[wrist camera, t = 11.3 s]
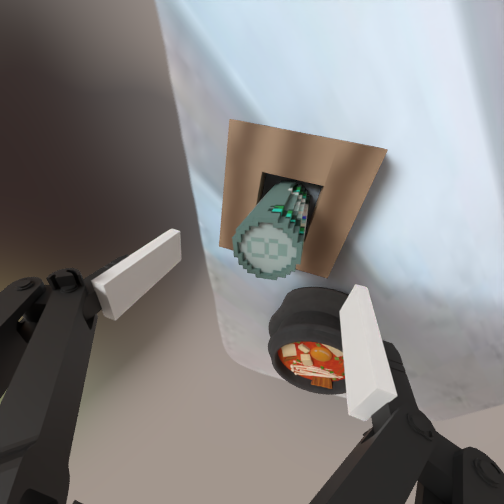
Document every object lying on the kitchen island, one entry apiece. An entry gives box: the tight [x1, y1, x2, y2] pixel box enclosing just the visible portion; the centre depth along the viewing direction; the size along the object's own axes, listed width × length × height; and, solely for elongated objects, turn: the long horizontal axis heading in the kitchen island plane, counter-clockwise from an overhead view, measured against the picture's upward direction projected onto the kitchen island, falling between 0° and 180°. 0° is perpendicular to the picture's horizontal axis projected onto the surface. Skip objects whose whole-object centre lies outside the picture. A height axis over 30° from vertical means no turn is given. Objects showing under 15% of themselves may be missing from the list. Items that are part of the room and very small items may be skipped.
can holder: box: [219, 119, 387, 278], centre depth 29 cm, size 18×18×3 cm
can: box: [232, 181, 310, 280], centre depth 24 cm, size 6×6×15 cm
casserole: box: [268, 287, 348, 394], centre depth 38 cm, size 25×19×8 cm
